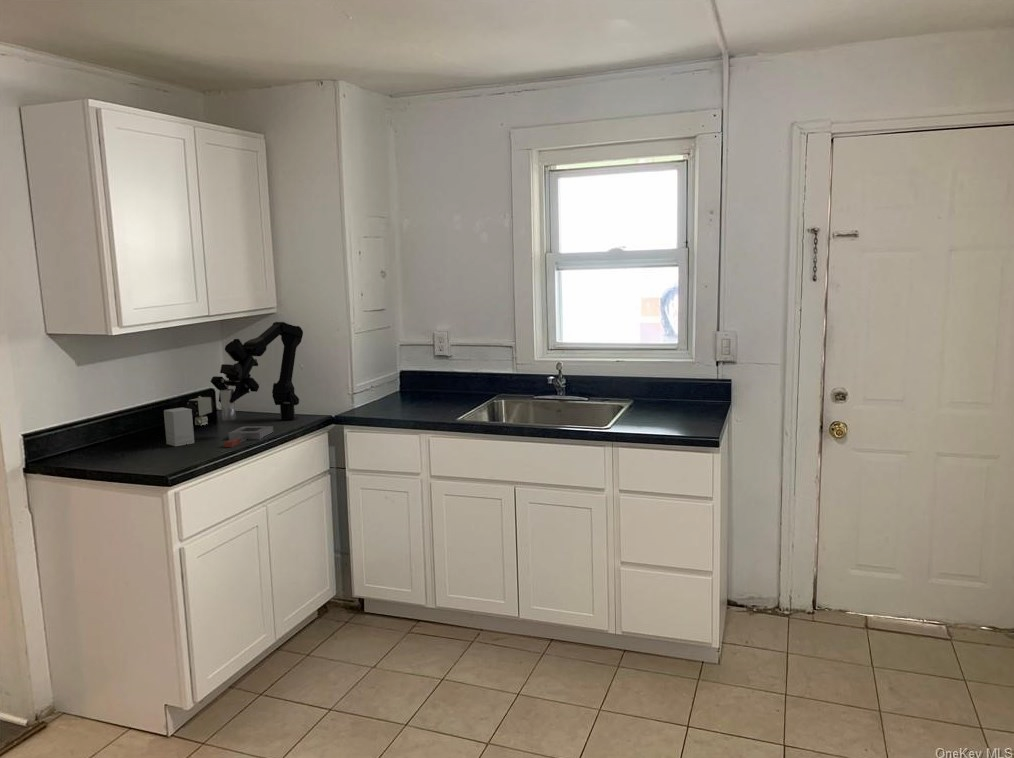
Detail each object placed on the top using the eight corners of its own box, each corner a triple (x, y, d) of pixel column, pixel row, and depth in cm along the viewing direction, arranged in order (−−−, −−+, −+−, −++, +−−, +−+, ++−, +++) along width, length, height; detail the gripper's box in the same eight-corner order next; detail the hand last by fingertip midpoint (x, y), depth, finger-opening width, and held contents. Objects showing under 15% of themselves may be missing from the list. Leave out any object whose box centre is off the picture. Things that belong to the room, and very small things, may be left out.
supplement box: (195, 443, 285) (192, 408, 283) (175, 446, 279) (172, 412, 278) (185, 440, 290) (183, 406, 288) (165, 444, 284) (162, 409, 283)
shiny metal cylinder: (224, 417, 297) (222, 389, 295) (237, 417, 297) (235, 388, 295) (220, 420, 292) (218, 391, 290) (233, 419, 292) (231, 390, 290)
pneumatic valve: (216, 422, 324) (213, 393, 322) (196, 428, 313) (194, 398, 311) (205, 422, 325) (202, 393, 324) (185, 427, 314) (182, 398, 313)
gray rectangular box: (243, 432, 301) (242, 426, 301) (273, 432, 300) (272, 426, 300) (211, 447, 277) (211, 440, 277) (244, 447, 275) (243, 440, 275)
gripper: (211, 355, 298) (193, 388, 289) (251, 356, 291) (233, 390, 283) (227, 372, 306) (210, 405, 298) (266, 374, 300) (249, 407, 291)
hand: (225, 402), depth 292 cm, fingers closed on shiny metal cylinder, 5 cm apart
